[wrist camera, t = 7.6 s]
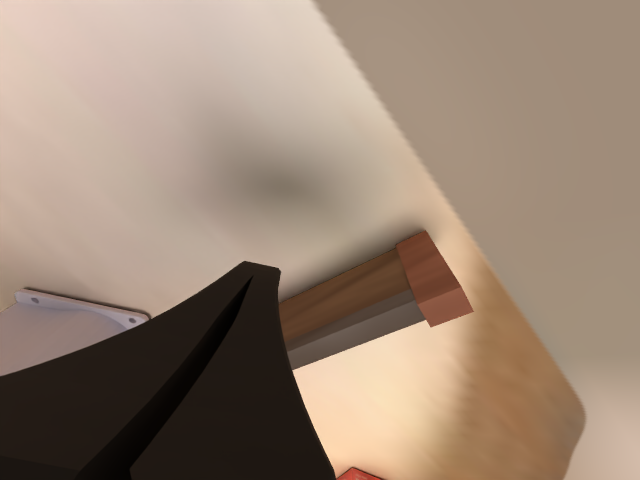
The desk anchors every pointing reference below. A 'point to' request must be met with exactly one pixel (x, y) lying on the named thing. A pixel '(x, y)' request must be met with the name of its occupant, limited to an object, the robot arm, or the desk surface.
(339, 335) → the brown flat bar
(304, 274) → the desk surface
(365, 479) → the ink cartridge box
